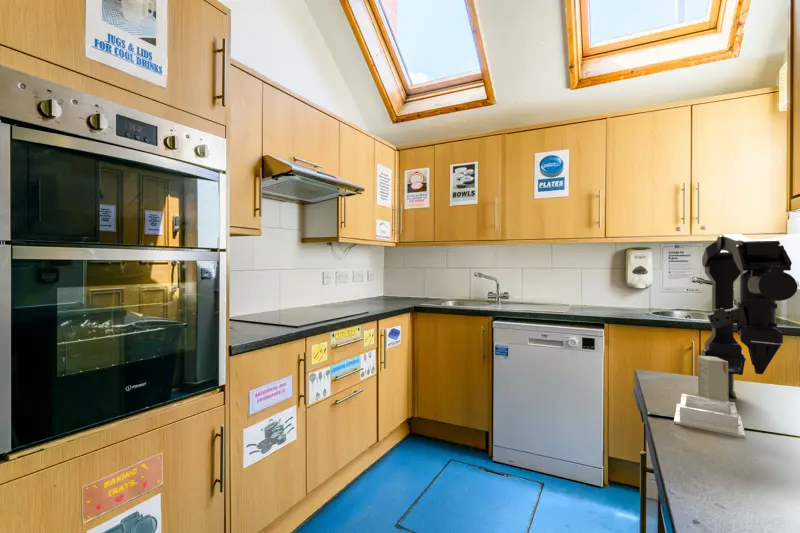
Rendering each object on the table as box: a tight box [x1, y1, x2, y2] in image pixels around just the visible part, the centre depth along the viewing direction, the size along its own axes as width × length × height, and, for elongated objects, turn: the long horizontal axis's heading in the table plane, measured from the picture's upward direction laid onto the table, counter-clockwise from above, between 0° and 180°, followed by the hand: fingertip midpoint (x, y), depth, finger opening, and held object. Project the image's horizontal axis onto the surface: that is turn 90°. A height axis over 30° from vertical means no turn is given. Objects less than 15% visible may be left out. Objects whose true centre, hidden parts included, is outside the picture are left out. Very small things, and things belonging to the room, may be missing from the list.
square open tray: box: [673, 393, 746, 439], centre depth 89 cm, size 14×12×4 cm
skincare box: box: [697, 355, 730, 402], centre depth 98 cm, size 6×4×12 cm
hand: (757, 369), depth 84 cm, fingers open, 9 cm apart
